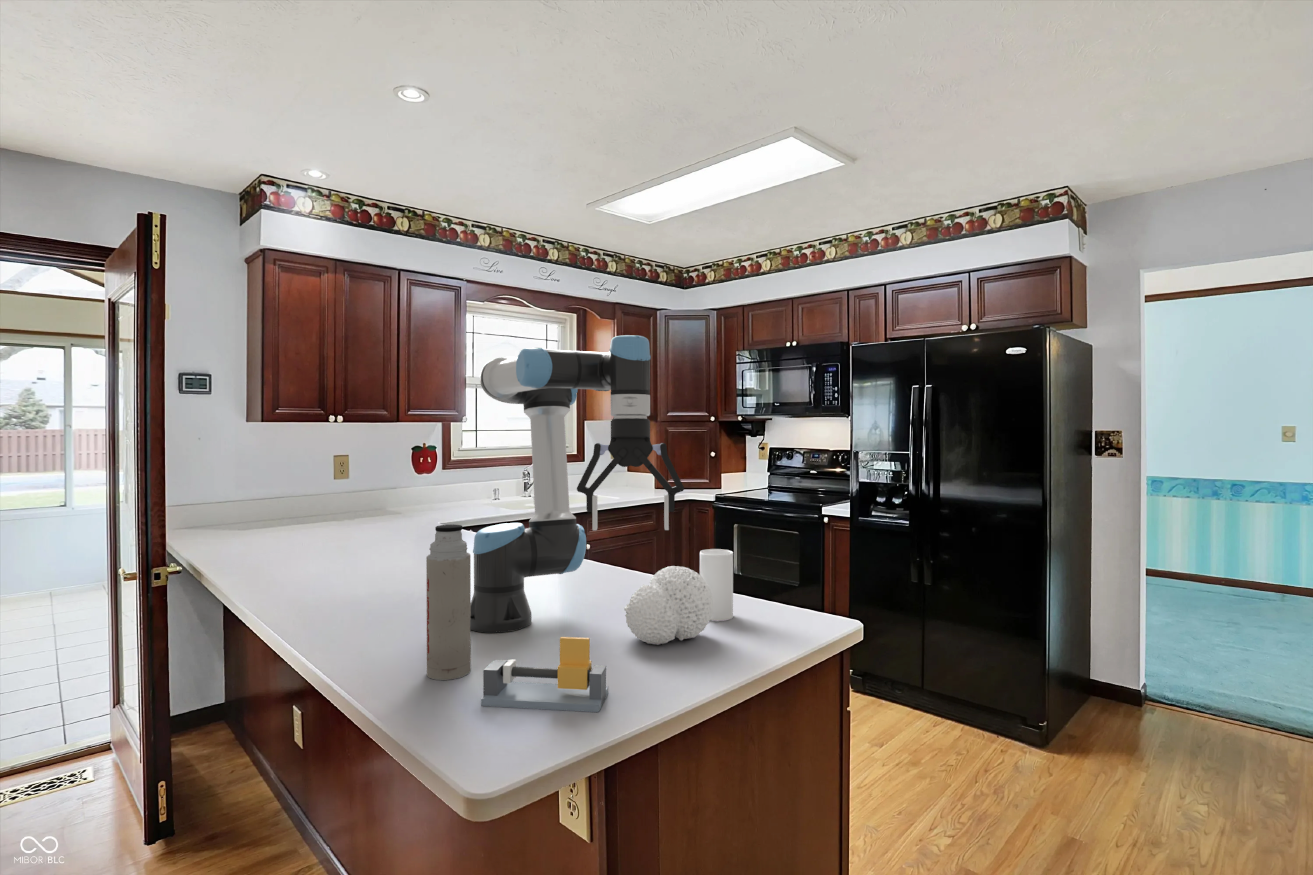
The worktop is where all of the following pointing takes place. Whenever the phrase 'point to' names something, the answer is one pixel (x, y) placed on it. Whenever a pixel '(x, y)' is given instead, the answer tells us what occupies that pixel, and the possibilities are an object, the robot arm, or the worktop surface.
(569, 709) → the rail rig
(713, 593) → the cup
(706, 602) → the white coral
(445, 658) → the thermos bottle
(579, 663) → the yellow sliding carriage
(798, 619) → the worktop surface
